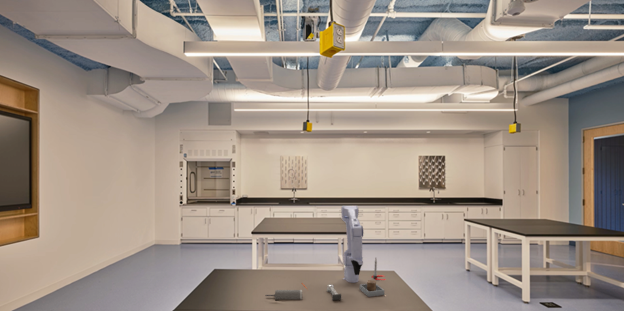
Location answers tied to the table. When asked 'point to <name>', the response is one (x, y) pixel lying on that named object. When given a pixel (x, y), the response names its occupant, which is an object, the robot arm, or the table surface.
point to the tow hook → (376, 272)
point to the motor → (287, 294)
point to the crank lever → (333, 292)
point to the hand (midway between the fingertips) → (356, 274)
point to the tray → (371, 293)
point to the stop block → (371, 285)
